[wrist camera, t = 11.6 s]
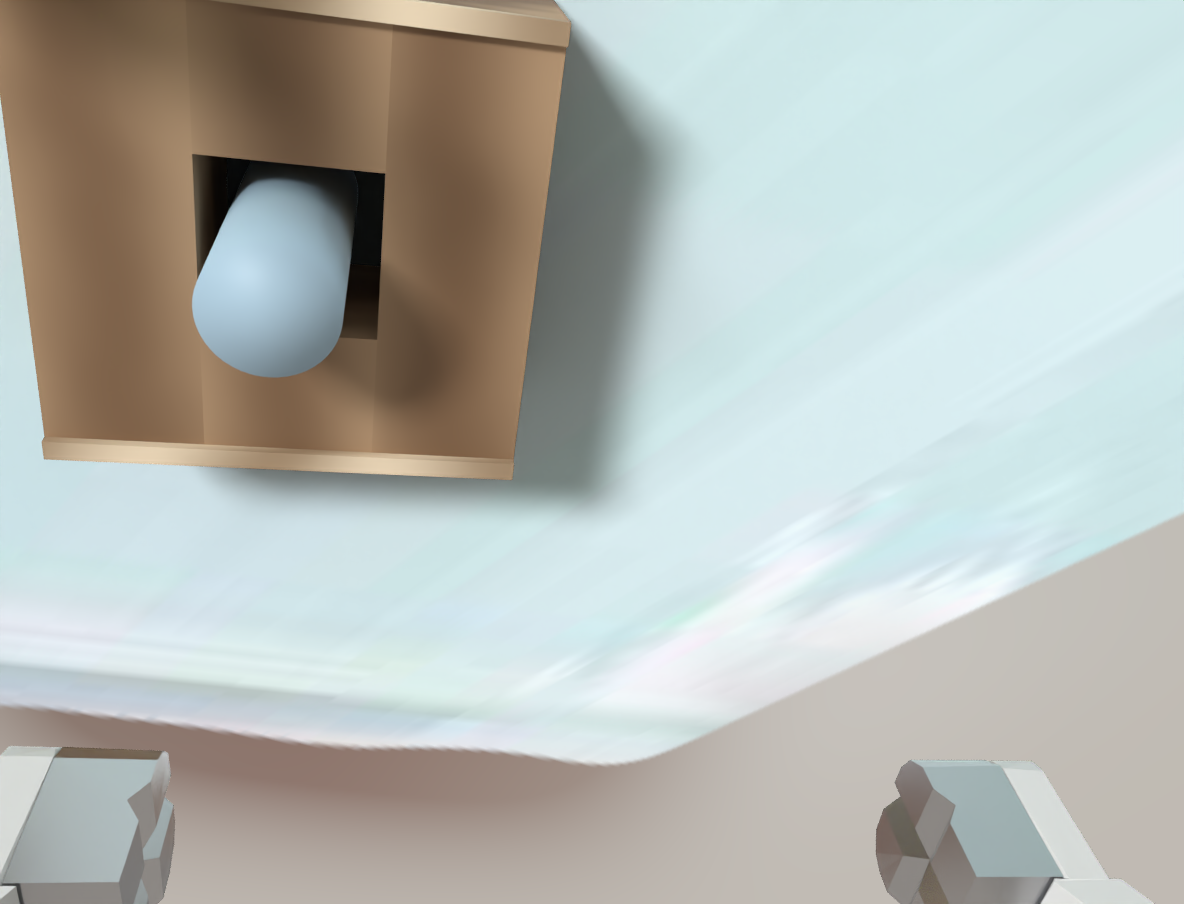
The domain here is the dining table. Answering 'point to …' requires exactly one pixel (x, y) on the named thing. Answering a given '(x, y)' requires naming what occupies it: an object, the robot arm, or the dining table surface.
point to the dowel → (279, 269)
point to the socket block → (200, 204)
